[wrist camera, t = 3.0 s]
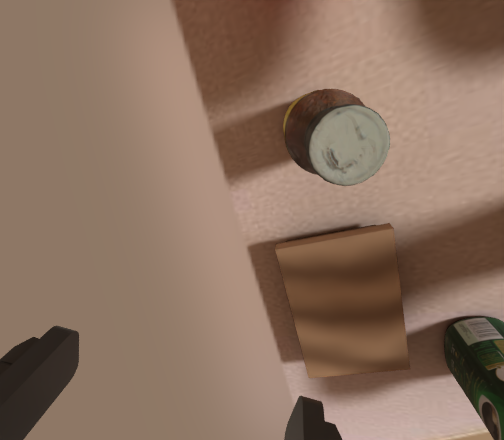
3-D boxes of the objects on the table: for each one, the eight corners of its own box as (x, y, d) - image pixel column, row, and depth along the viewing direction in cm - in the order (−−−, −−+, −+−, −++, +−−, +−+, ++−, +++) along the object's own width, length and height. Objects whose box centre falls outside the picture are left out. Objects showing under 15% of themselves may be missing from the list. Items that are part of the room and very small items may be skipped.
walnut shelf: (276, 235, 39) (275, 249, 35) (383, 215, 36) (393, 228, 32) (307, 355, 45) (308, 378, 42) (399, 346, 43) (409, 369, 39)
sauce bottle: (284, 153, 35) (275, 211, 17) (282, 95, 33) (269, 87, 14) (343, 150, 34) (402, 207, 16) (345, 90, 32) (415, 74, 14)
